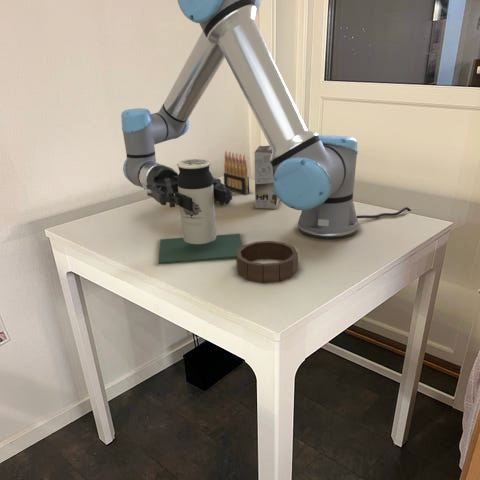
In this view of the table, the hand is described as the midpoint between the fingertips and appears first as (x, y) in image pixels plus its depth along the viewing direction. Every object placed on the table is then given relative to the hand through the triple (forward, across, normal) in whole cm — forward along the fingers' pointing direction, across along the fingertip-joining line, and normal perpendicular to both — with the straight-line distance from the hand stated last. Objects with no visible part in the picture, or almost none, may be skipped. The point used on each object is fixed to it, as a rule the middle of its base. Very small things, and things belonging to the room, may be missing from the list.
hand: (207, 200), depth 107 cm
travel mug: (-5, 0, -11) cm, 12 cm away
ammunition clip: (-39, -35, -13) cm, 54 cm away
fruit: (-33, -22, -13) cm, 42 cm away
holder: (+15, -5, -13) cm, 20 cm away
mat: (-5, 0, -13) cm, 14 cm away
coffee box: (-21, -34, -13) cm, 42 cm away
